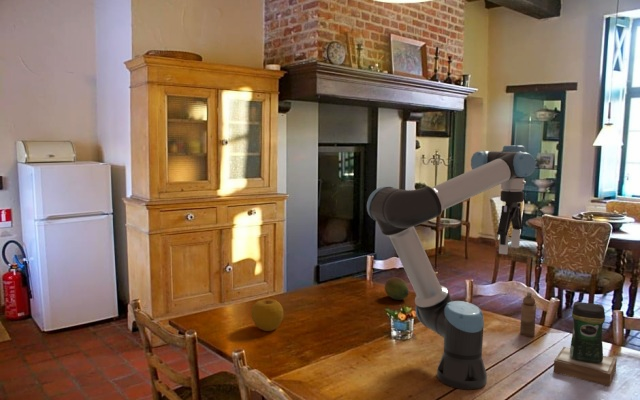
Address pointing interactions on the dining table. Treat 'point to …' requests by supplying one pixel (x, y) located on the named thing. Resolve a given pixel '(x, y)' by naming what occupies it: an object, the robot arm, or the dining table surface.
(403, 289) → the fruit
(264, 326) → the apple
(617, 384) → the dining table surface
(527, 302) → the pepper mill
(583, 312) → the coffee jar
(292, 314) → the dining table surface
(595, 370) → the plinth
